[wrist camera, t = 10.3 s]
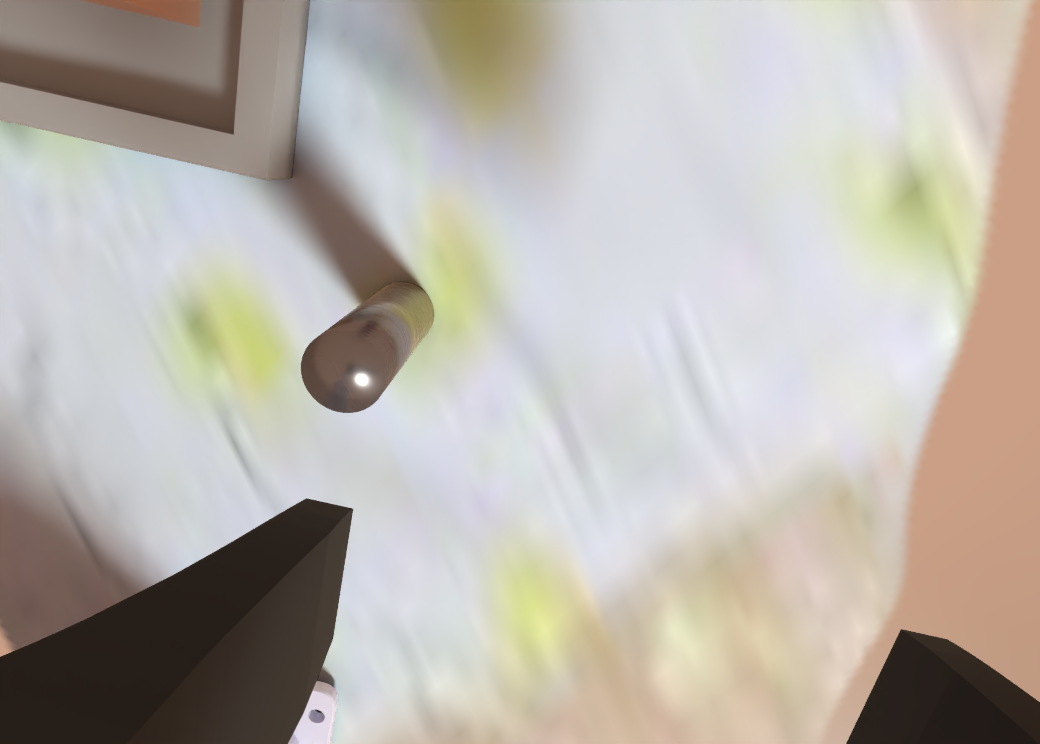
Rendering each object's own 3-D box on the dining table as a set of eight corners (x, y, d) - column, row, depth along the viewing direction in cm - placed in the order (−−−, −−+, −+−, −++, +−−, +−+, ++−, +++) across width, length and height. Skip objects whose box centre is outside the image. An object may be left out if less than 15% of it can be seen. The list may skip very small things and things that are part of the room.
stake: (428, 348, 18) (379, 421, 13) (367, 335, 18) (296, 402, 13) (438, 289, 17) (391, 341, 12) (376, 275, 17) (306, 322, 12)
